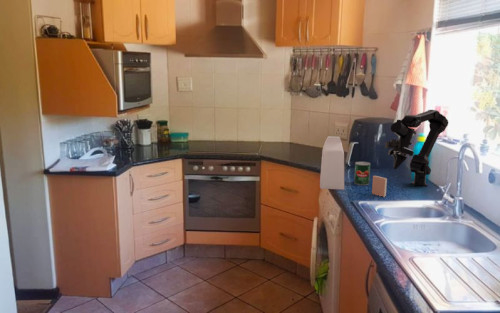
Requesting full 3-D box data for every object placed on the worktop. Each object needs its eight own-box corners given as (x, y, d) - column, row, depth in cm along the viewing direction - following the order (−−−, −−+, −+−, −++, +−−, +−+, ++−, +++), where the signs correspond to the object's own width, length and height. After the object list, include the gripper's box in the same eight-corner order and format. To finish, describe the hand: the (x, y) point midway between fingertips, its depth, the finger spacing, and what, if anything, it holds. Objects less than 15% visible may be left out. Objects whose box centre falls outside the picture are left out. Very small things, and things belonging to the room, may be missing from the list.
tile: (373, 193, 219) (375, 175, 217) (385, 196, 213) (386, 178, 212) (371, 193, 218) (373, 176, 216) (383, 197, 213) (384, 178, 211)
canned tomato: (358, 185, 233) (359, 165, 230) (351, 181, 240) (352, 162, 238) (372, 184, 235) (373, 164, 233) (364, 180, 242) (365, 161, 240)
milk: (320, 188, 227) (321, 138, 222) (319, 182, 238) (321, 134, 233) (344, 189, 226) (346, 138, 220) (342, 183, 237) (344, 135, 231)
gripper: (383, 135, 230) (373, 164, 229) (396, 131, 212) (386, 162, 210) (403, 143, 230) (393, 171, 229) (418, 139, 212) (408, 170, 211)
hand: (394, 169), depth 220 cm, fingers closed
